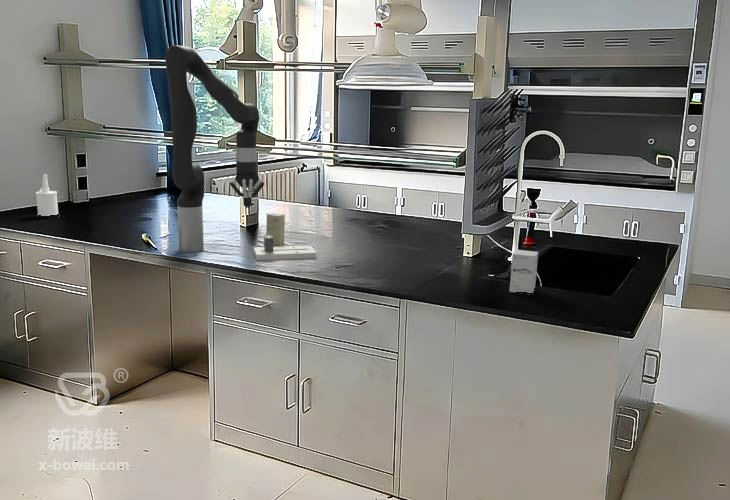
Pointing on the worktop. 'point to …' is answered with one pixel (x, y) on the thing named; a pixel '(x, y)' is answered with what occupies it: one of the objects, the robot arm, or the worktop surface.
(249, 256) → the worktop surface
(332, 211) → the worktop surface
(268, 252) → the fader console
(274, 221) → the skincare box
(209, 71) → the robot arm
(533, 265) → the supplement box
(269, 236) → the fader cap
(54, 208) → the white nozzle bottle
